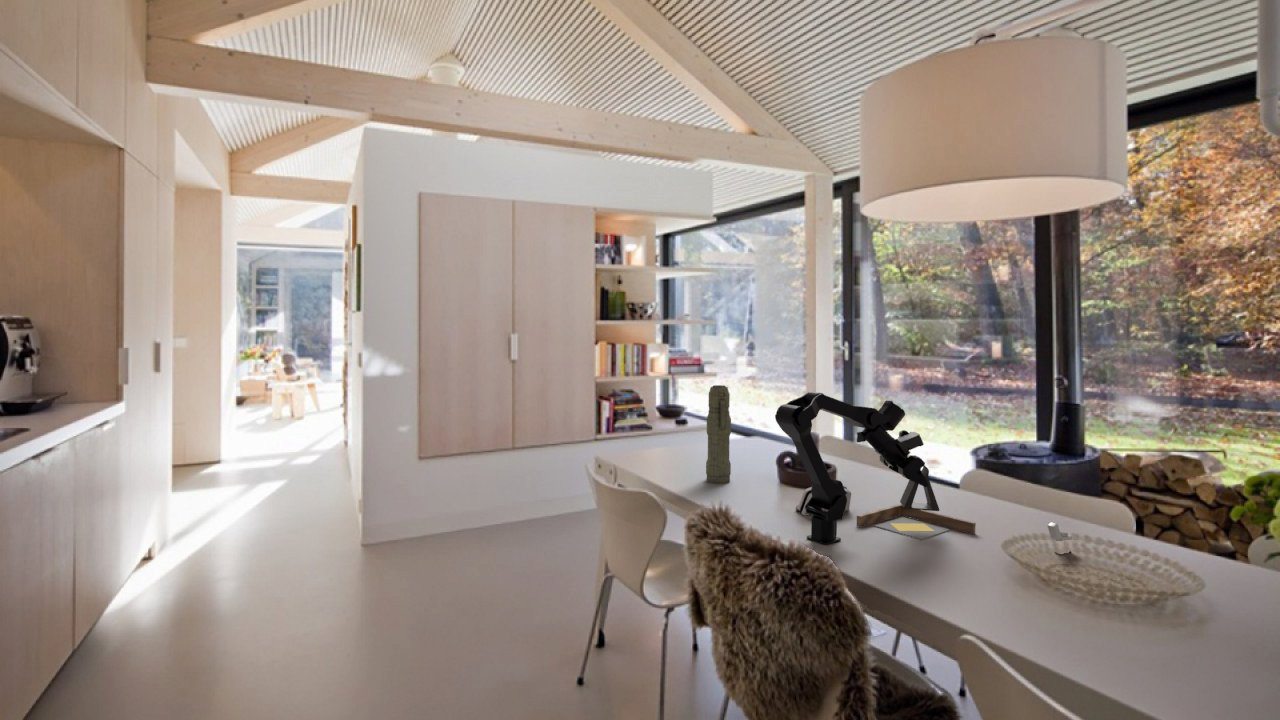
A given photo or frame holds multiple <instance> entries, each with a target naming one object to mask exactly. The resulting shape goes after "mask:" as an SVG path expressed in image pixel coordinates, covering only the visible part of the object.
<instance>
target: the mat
mask: <svg viewBox="0 0 1280 720" xmlns="http://www.w3.org/2000/svg"><path fill="white" fill-rule="evenodd" d="M874 527H875V528H879V529H882V530H884V531H885V530H886V531H889V532H893V533H895V534H898V535H903V536H905V535H906V537H909V536H910V537H909V538H912V537H913V539H917V540H919V541H924V540H926V539H929V538H932V537H935V536H938V535H940V534H944V533H946V532H949V531H951V529H950V528H947V527H943V526H939V525H935V524H932V523H928V522H924V521H920V520H917V519H913V518H909V517H905V516H902V517H898V518H895V519H892V520H889V521H884V522H882V523H877V524H875V525H874Z"/></svg>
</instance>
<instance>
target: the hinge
mask: <svg viewBox="0 0 1280 720" xmlns="http://www.w3.org/2000/svg"><path fill="white" fill-rule="evenodd" d="M843 487H844V490H845V491H846V492H847V494H845V495H846V497H847V504H846V507H845V510H847V511H850V505H851V499H852V492H851V490H850V489H849V488H847V486H845V485H843ZM811 488H812V486H810V487H808V488H806V489H805V490H804V491H803V493H802V496H801V499H800V501H799V504H798V505H796V506H795V509H794V511H795V510H796V511H795V512H801V515H802V514H803V515H802V516H809V515H808V514H807V513H806V510H805V506H806V504H807V503H808V501H809V500H810V499H811V497H812V493H811ZM798 510H799V511H798ZM821 510H824V511H827V512H828V510H826V509H824V508H822V509H821Z"/></svg>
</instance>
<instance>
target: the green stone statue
mask: <svg viewBox="0 0 1280 720" xmlns="http://www.w3.org/2000/svg"><path fill="white" fill-rule="evenodd" d="M730 395H731V394H730V392H729V389H728V386H726V385H716V384H715V385H712V386H710V389H709V391H708V412H707V417H706V434H707V459H706V462H705V474H706V482H708V483H710V484H711V483H712V484H729V483H730V482H731V474H732V473H731V469H732V468H731V466H732V464H731V460H730V436H731V434H732V418H731V415H730V401H731V400H730Z"/></svg>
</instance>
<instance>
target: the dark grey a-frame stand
mask: <svg viewBox="0 0 1280 720" xmlns="http://www.w3.org/2000/svg"><path fill="white" fill-rule="evenodd" d="M921 472H922V474H923V475H924V477H925V479H926V481H927V483H928V486H927V487H924V486H922V487H923V490H924V494H925V498H926V502H917V501H915V502H914V500H915V497H916V494H917V491H918V488H919V485H920V484H917V483H915V482H913V481H911V480H909V479H908V483H907V484H906V486H905V489H904V491H903V493H902V496H901V498H900V500H899V502H900V505H901V504H902V506H903V507H904V508H905V509H914V510H921V509H922V510H926V511H930V512H940V507H939V504H938V502H937V499H936V496H935V492H934V490H933V486H932V484H931V481H930V479H929V475H930V470H929V468H928V467H927V466H926V464H925V465H924V466H923V467H922V468H921Z"/></svg>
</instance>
